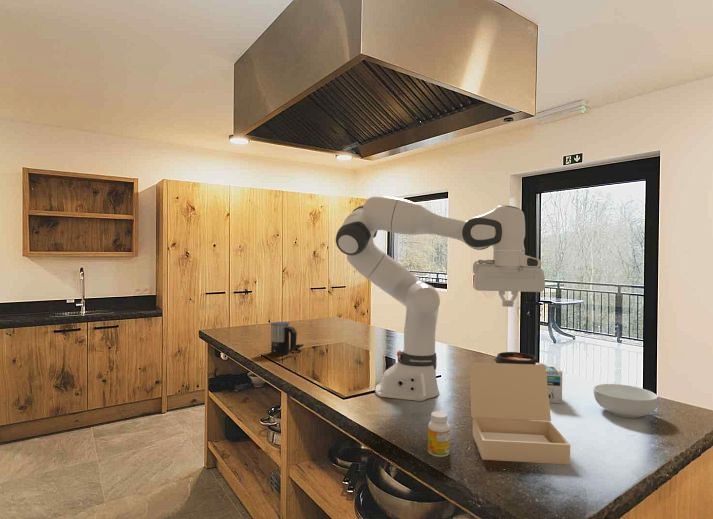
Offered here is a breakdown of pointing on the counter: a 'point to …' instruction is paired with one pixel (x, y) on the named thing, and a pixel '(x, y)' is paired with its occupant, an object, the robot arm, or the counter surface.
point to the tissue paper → (514, 437)
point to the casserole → (516, 358)
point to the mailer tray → (521, 450)
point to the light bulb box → (553, 382)
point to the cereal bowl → (625, 400)
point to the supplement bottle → (439, 434)
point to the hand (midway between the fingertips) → (507, 306)
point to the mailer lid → (509, 391)
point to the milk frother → (283, 338)
